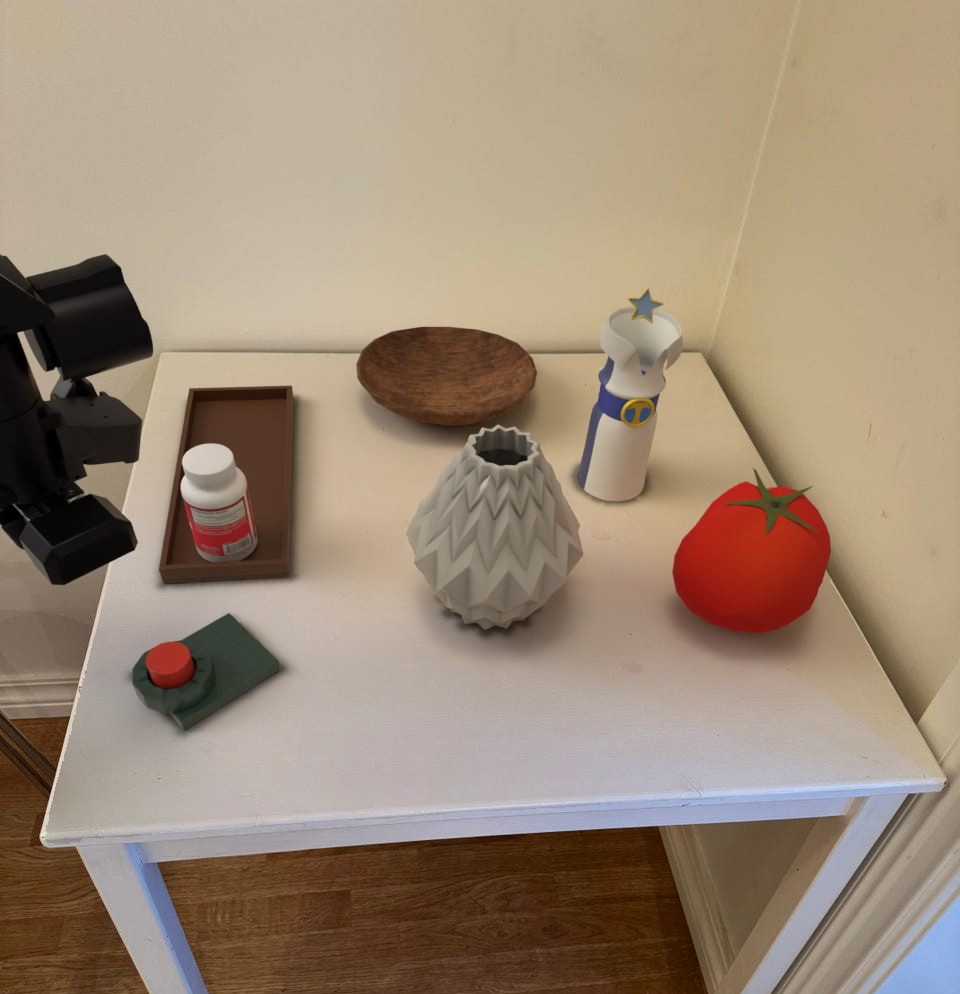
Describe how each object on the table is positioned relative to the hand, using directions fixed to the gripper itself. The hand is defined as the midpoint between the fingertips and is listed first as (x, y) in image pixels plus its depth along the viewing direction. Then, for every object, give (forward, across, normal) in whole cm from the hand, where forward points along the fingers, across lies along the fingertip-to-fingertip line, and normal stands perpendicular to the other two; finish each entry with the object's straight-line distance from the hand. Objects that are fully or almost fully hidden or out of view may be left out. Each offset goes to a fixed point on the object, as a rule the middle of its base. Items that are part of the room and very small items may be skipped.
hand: (67, 571), depth 67 cm
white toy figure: (+13, -12, -56) cm, 59 cm away
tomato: (+13, -33, -49) cm, 60 cm away
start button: (+10, -5, -4) cm, 12 cm away
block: (+13, -6, -6) cm, 16 cm away
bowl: (+13, +12, -52) cm, 55 cm away
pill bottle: (+13, +7, -17) cm, 22 cm away
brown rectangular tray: (+13, +16, -24) cm, 31 cm away
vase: (+13, -16, -32) cm, 38 cm away
